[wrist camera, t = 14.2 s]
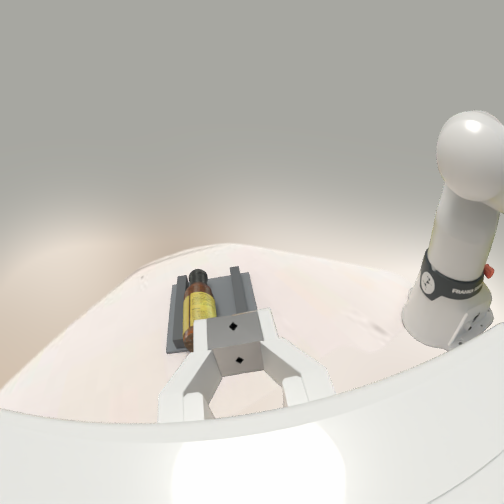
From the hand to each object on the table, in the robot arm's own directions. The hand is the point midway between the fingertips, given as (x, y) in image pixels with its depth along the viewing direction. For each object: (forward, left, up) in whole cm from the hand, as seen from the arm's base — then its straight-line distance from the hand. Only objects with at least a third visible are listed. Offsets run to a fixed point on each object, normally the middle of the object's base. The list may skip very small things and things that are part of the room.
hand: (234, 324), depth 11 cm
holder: (+6, -36, -32) cm, 48 cm away
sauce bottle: (+8, -23, -28) cm, 37 cm away
